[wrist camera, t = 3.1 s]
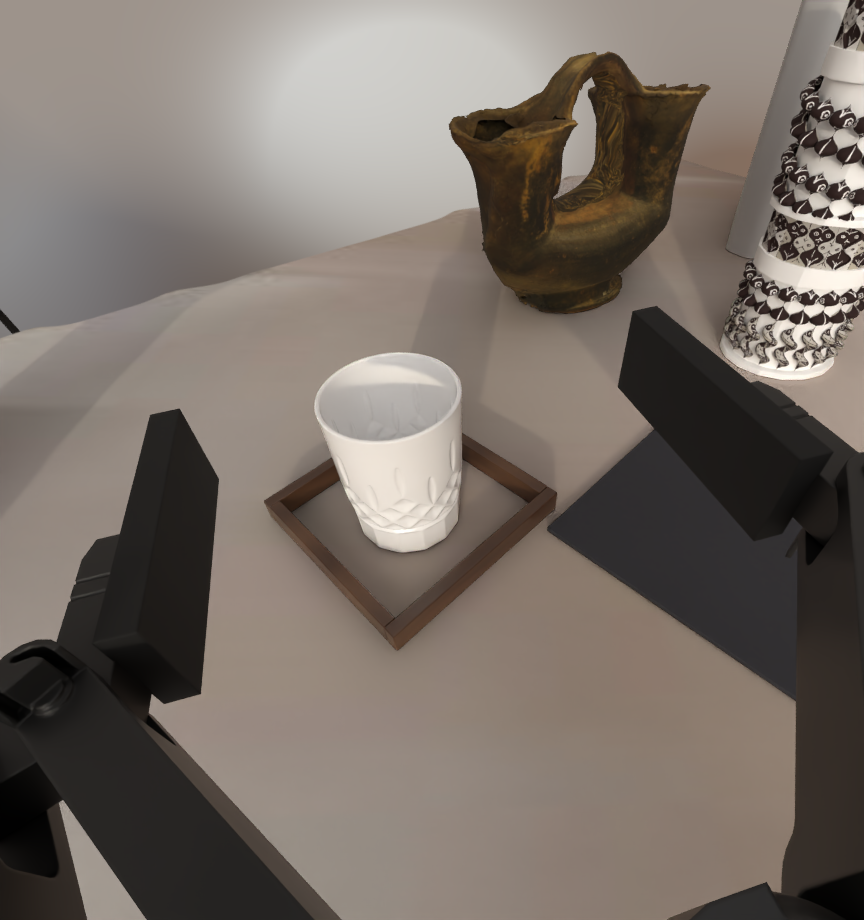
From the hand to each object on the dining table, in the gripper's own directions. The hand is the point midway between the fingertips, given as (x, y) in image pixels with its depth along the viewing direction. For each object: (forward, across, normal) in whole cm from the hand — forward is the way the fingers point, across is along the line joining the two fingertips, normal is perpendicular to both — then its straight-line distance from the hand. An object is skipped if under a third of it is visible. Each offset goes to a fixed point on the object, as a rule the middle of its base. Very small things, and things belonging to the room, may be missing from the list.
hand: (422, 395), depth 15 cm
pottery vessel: (+34, +22, -17) cm, 44 cm away
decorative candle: (+18, +33, -17) cm, 41 cm away
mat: (+2, +19, -17) cm, 26 cm away
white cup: (+10, 0, -17) cm, 20 cm away
